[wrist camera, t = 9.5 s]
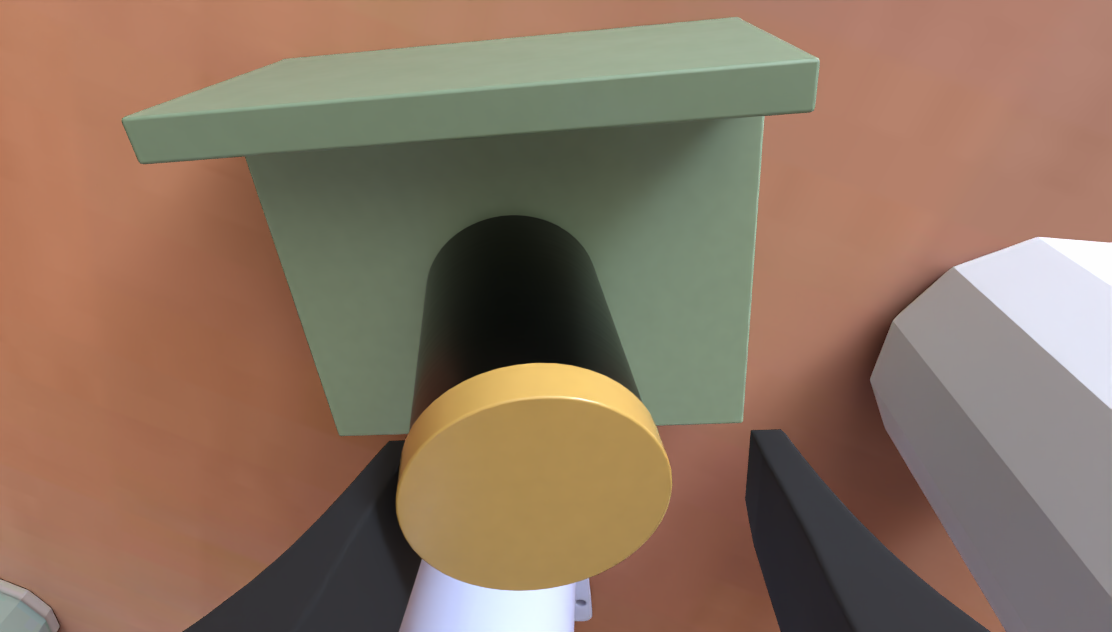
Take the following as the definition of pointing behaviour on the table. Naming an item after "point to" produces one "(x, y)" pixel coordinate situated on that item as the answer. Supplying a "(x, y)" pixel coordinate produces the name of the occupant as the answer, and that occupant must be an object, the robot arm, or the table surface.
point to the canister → (525, 417)
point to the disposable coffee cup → (24, 611)
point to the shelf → (510, 189)
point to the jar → (1014, 425)
